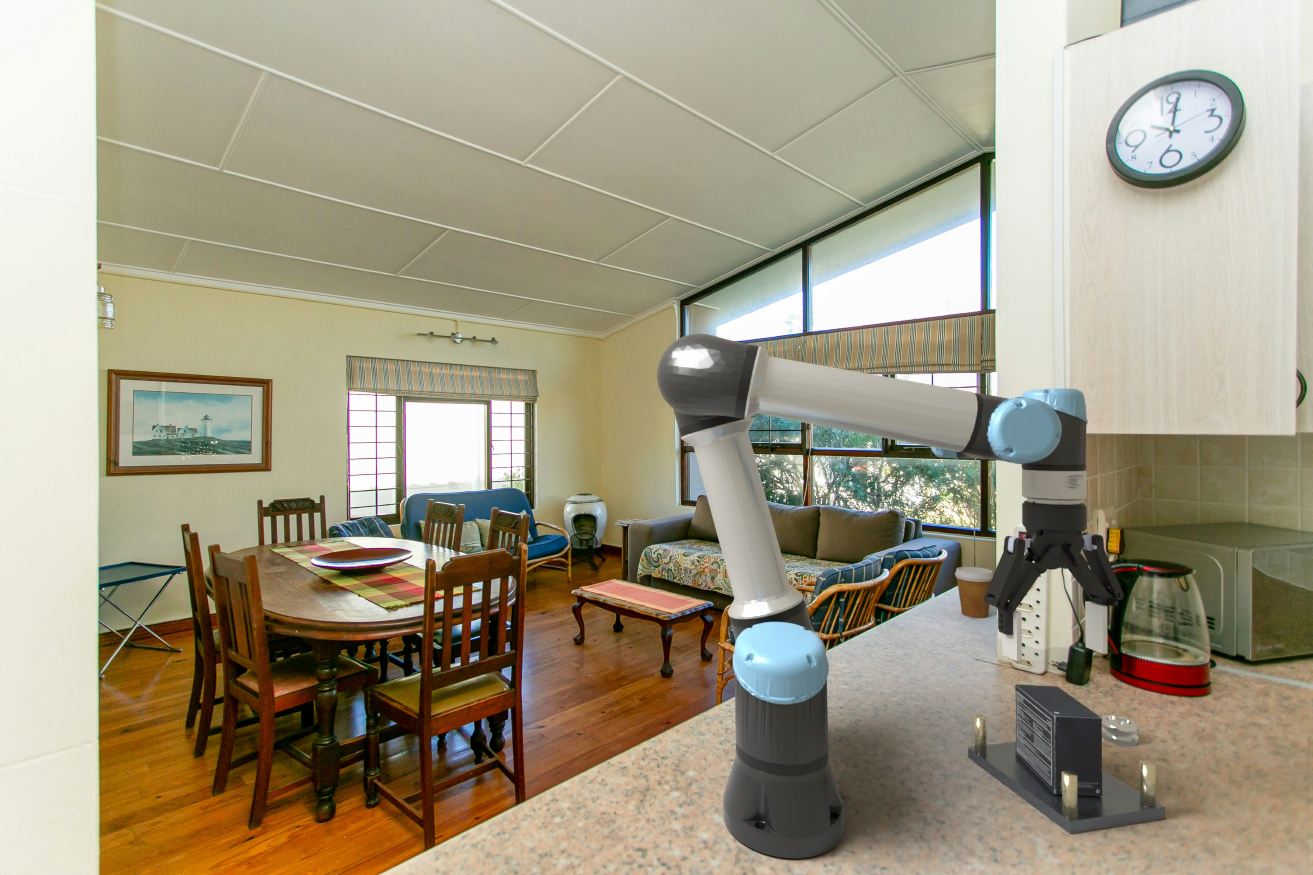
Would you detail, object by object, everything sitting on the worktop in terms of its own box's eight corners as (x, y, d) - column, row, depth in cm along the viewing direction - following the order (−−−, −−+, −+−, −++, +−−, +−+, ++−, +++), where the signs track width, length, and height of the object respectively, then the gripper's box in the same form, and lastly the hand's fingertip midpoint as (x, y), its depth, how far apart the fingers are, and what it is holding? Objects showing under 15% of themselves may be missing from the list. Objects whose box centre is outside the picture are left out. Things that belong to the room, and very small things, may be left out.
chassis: (1070, 833, 74) (1069, 780, 74) (968, 757, 91) (967, 714, 91) (1165, 818, 76) (1164, 767, 76) (1048, 746, 94) (1047, 705, 94)
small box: (1107, 798, 78) (1106, 717, 78) (1054, 796, 79) (1052, 716, 79) (1060, 755, 89) (1059, 683, 89) (1013, 753, 89) (1012, 682, 89)
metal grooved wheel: (1094, 737, 97) (1131, 750, 93) (1093, 718, 97) (1131, 730, 93) (1106, 728, 100) (1143, 740, 95) (1106, 710, 100) (1143, 721, 95)
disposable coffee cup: (1002, 616, 161) (1002, 571, 161) (981, 622, 156) (980, 575, 156) (968, 607, 169) (968, 564, 169) (947, 613, 164) (946, 569, 164)
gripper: (994, 506, 78) (995, 671, 78) (1155, 500, 82) (1156, 656, 82) (955, 500, 85) (956, 650, 85) (1105, 495, 90) (1106, 638, 90)
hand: (1054, 653), depth 84 cm, fingers open, 13 cm apart
